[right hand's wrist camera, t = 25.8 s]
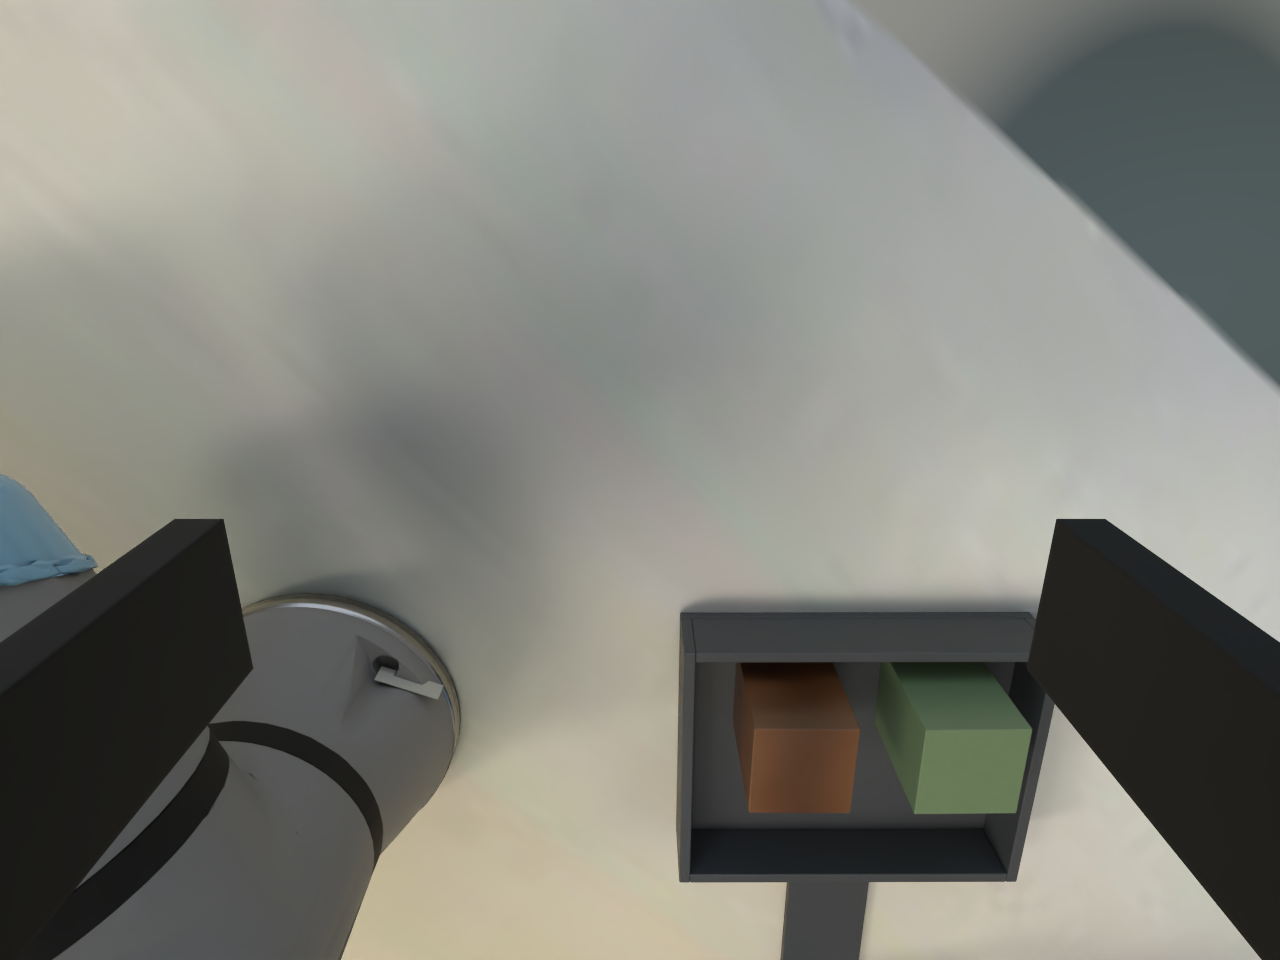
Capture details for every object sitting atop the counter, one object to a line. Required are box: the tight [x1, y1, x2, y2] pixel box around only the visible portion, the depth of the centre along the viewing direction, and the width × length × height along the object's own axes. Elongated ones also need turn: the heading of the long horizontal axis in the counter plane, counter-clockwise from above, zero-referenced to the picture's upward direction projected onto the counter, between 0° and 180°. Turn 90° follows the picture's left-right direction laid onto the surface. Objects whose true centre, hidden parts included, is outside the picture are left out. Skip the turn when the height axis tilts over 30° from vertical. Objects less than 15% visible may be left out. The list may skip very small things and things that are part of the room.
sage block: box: [875, 662, 1032, 814], centre depth 41 cm, size 5×5×7 cm
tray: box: [676, 612, 1055, 960], centre depth 46 cm, size 19×35×6 cm, turn 0°
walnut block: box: [733, 662, 860, 813], centre depth 41 cm, size 5×5×7 cm
